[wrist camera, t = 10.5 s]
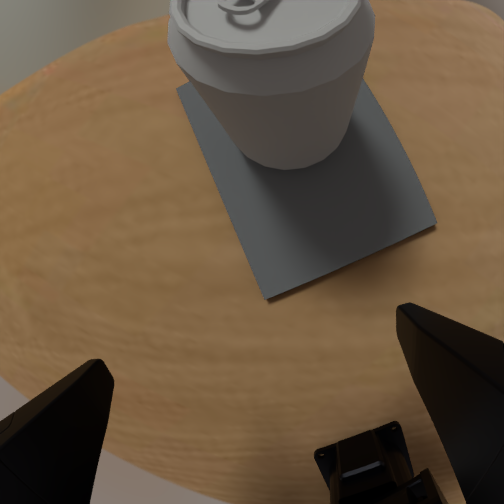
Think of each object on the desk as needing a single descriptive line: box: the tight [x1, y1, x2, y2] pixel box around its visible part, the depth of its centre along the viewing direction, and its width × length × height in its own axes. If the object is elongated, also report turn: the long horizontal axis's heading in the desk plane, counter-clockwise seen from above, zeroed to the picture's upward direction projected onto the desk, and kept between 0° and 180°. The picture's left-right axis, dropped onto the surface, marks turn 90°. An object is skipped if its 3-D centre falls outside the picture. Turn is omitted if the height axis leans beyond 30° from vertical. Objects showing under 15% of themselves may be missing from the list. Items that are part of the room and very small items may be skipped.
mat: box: [176, 79, 437, 300], centre depth 20 cm, size 16×12×1 cm
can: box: [168, 0, 375, 170], centre depth 13 cm, size 8×8×12 cm
